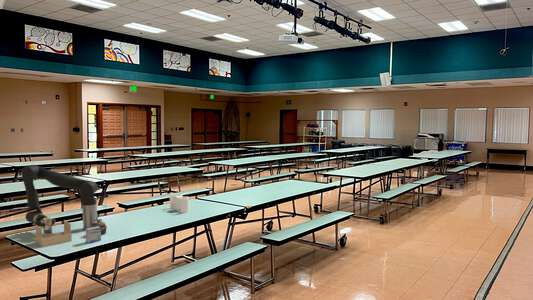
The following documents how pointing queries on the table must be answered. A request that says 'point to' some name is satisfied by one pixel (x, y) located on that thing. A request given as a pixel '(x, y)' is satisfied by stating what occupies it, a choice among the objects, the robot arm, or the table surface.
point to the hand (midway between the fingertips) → (48, 224)
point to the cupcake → (100, 225)
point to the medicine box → (93, 234)
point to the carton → (53, 236)
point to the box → (47, 225)
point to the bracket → (179, 203)
